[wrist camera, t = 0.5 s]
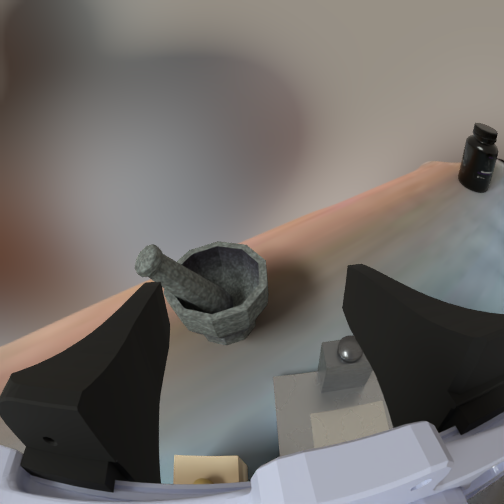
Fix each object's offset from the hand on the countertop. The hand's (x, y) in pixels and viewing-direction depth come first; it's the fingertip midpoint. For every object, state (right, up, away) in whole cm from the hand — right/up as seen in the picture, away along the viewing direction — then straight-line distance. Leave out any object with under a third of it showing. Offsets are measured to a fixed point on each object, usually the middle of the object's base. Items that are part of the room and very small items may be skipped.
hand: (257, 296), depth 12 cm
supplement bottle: (+42, +15, +37) cm, 58 cm away
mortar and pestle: (-4, -6, +21) cm, 23 cm away
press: (+8, -13, +11) cm, 19 cm away
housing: (-3, -18, +8) cm, 20 cm away
